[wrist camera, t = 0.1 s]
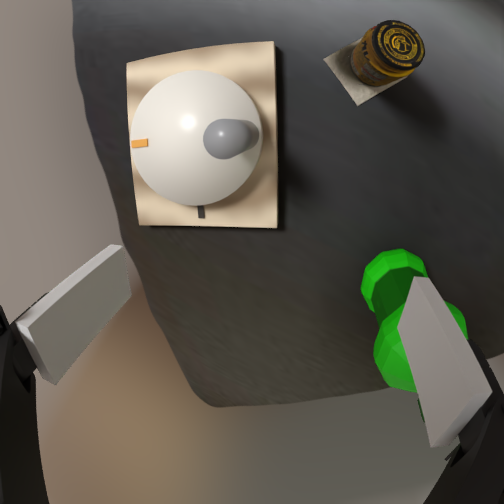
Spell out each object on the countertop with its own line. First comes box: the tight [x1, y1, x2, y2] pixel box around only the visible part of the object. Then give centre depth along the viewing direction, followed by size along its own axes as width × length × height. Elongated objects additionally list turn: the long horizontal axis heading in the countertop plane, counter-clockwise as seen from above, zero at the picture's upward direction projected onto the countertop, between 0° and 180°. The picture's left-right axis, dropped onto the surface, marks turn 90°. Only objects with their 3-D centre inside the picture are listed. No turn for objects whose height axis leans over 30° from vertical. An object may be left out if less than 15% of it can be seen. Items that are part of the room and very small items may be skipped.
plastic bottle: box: [360, 249, 468, 422], centre depth 29 cm, size 10×10×25 cm
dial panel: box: [127, 41, 278, 228], centre depth 36 cm, size 24×20×2 cm
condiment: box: [324, 20, 425, 106], centre depth 25 cm, size 7×8×12 cm
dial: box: [130, 70, 263, 206], centre depth 30 cm, size 17×17×11 cm
